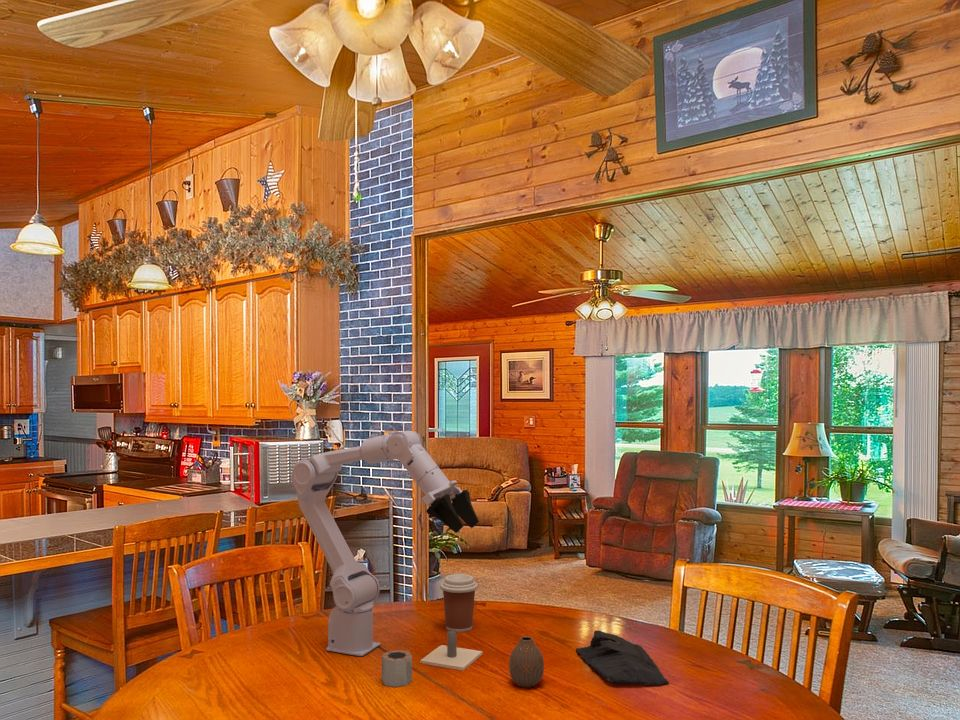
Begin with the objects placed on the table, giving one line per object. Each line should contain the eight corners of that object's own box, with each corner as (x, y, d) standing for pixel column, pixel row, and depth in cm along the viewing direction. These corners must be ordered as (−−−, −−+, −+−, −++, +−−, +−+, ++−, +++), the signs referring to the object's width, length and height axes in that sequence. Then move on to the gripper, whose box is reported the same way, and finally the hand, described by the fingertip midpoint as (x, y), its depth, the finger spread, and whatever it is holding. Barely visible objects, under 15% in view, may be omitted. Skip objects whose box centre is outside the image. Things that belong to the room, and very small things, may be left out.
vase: (520, 693, 139) (520, 646, 139) (502, 680, 145) (502, 635, 145) (551, 686, 142) (550, 640, 142) (532, 674, 148) (532, 630, 148)
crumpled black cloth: (597, 691, 140) (597, 666, 141) (573, 650, 162) (573, 629, 163) (674, 689, 142) (674, 664, 142) (640, 648, 164) (640, 627, 164)
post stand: (420, 663, 154) (420, 636, 154) (441, 647, 163) (441, 622, 163) (463, 670, 150) (463, 642, 150) (482, 654, 159) (482, 628, 159)
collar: (377, 683, 143) (377, 658, 143) (391, 673, 148) (391, 648, 148) (402, 688, 141) (402, 662, 141) (415, 678, 146) (415, 652, 146)
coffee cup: (439, 622, 180) (439, 573, 181) (475, 620, 181) (475, 572, 182) (441, 634, 171) (441, 582, 172) (479, 633, 172) (479, 581, 173)
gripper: (425, 465, 147) (466, 518, 143) (456, 462, 161) (494, 510, 156) (402, 488, 149) (442, 541, 145) (434, 483, 162) (472, 532, 158)
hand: (467, 527), depth 150 cm, fingers open, 7 cm apart
